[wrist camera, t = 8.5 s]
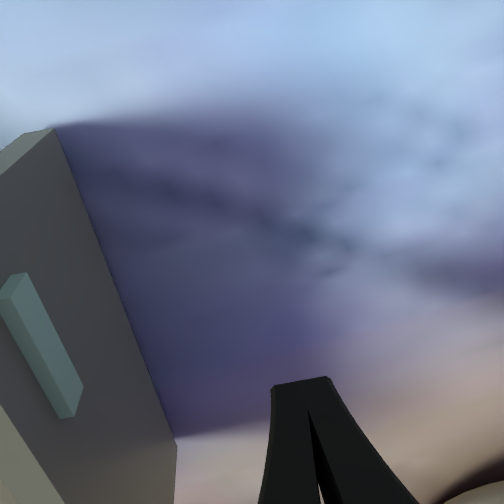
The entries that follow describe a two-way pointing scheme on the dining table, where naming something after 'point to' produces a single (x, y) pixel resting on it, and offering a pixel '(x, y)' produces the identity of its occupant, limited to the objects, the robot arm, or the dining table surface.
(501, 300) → the dining table surface
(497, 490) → the jar
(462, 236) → the dining table surface
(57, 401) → the grey box with handle
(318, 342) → the dining table surface
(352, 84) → the dining table surface
